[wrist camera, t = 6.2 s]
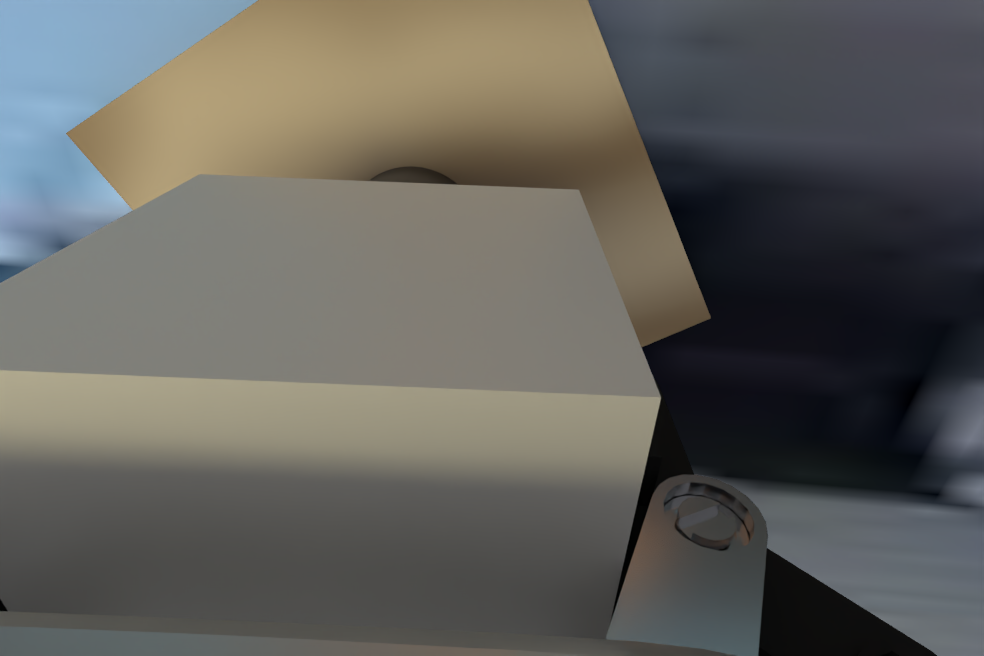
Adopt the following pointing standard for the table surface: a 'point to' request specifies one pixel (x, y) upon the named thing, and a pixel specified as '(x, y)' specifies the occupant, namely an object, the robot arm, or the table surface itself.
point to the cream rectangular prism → (325, 411)
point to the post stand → (411, 119)
